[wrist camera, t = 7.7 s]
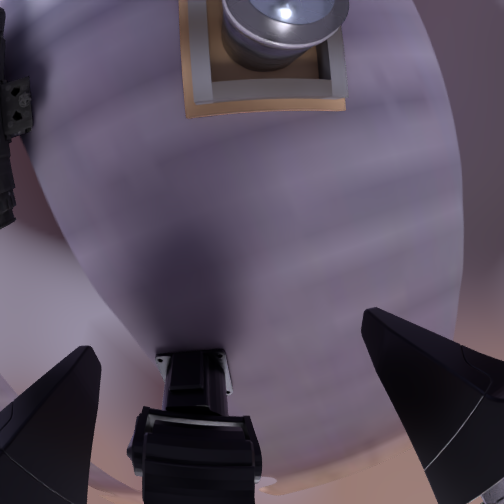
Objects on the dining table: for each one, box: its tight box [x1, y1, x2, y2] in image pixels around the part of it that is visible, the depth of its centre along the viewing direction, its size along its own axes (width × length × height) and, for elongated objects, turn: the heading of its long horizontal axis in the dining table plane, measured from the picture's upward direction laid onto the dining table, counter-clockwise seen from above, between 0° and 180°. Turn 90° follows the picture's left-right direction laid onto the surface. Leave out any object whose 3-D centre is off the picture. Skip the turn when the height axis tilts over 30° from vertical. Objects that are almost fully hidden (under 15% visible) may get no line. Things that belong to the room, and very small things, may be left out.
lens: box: [221, 0, 349, 72], centre depth 10 cm, size 5×5×7 cm
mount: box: [179, 0, 348, 119], centre depth 13 cm, size 10×10×4 cm
